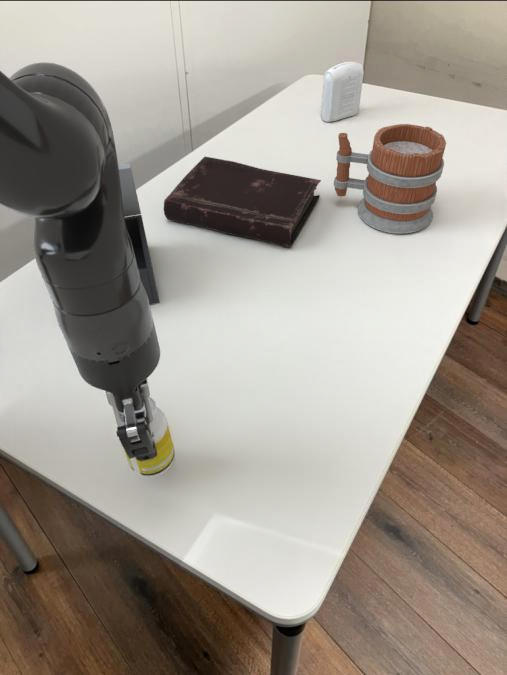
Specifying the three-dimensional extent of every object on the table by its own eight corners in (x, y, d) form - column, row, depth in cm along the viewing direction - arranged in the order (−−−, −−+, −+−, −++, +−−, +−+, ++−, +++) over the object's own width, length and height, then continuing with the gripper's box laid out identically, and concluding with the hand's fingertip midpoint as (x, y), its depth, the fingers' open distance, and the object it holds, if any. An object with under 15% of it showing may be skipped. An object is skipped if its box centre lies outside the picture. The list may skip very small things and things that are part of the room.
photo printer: (350, 108, 131) (356, 56, 122) (361, 114, 128) (368, 61, 119) (317, 118, 127) (321, 65, 118) (328, 124, 125) (332, 70, 115)
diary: (289, 252, 90) (290, 228, 87) (165, 223, 97) (161, 200, 94) (320, 198, 102) (322, 175, 98) (208, 176, 109) (206, 154, 105)
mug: (428, 241, 92) (450, 163, 81) (323, 224, 96) (330, 148, 85) (435, 200, 101) (455, 125, 90) (338, 186, 105) (346, 113, 94)
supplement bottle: (184, 450, 61) (173, 401, 54) (156, 487, 58) (140, 440, 50) (148, 431, 63) (133, 381, 56) (119, 465, 60) (99, 417, 52)
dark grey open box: (159, 303, 82) (152, 270, 77) (79, 318, 80) (67, 285, 75) (148, 246, 92) (141, 214, 87) (77, 258, 90) (66, 226, 85)
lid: (130, 168, 71) (123, 132, 72) (37, 181, 69) (30, 145, 70) (141, 214, 87) (135, 185, 88) (65, 226, 85) (60, 196, 86)
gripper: (63, 281, 48) (105, 390, 60) (65, 400, 39) (114, 501, 51) (143, 266, 49) (168, 376, 62) (163, 379, 40) (188, 482, 52)
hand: (144, 432), depth 56 cm, fingers closed on supplement bottle, 5 cm apart
